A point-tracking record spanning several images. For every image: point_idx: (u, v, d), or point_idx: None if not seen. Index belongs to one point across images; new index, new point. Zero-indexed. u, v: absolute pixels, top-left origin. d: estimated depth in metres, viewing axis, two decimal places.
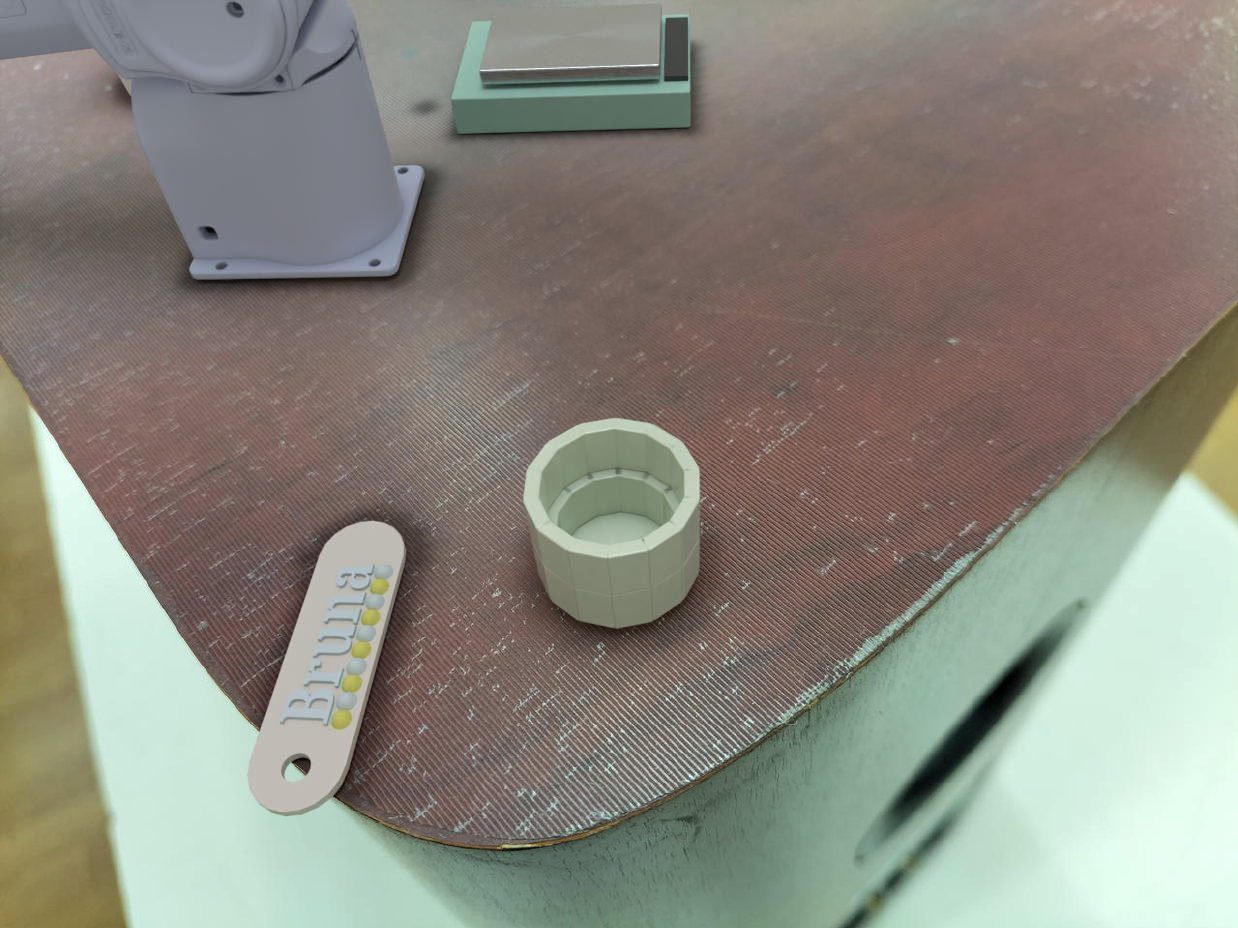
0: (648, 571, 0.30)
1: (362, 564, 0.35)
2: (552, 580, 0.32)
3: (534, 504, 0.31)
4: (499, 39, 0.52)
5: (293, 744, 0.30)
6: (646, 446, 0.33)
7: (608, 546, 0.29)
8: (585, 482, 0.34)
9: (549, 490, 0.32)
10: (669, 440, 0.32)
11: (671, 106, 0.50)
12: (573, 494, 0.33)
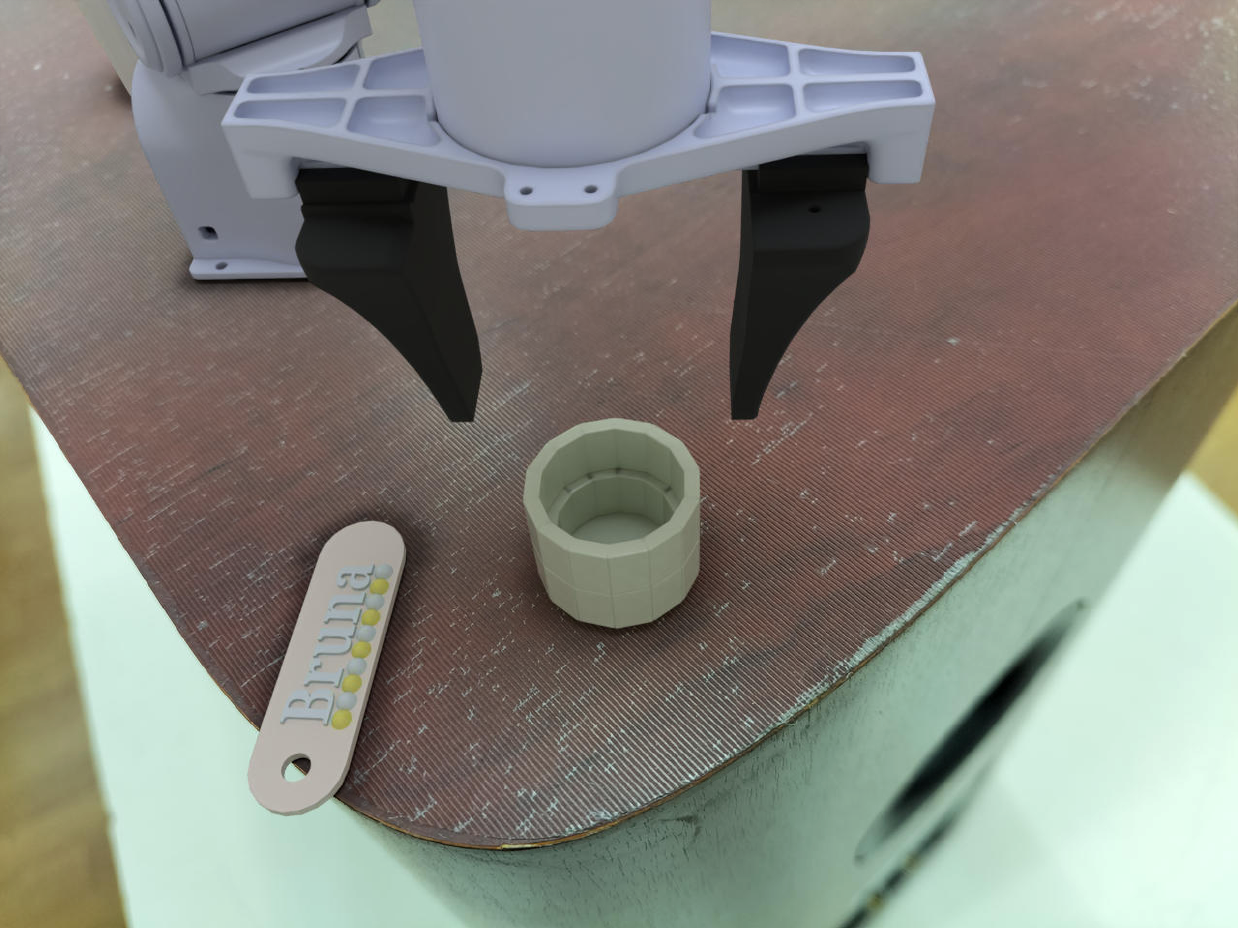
0: (648, 571, 0.30)
1: (362, 564, 0.35)
2: (552, 580, 0.32)
3: (534, 504, 0.31)
4: None
5: (293, 744, 0.30)
6: (646, 446, 0.33)
7: (608, 546, 0.29)
8: (585, 482, 0.34)
9: (549, 490, 0.32)
10: (669, 440, 0.32)
11: None
12: (573, 494, 0.33)
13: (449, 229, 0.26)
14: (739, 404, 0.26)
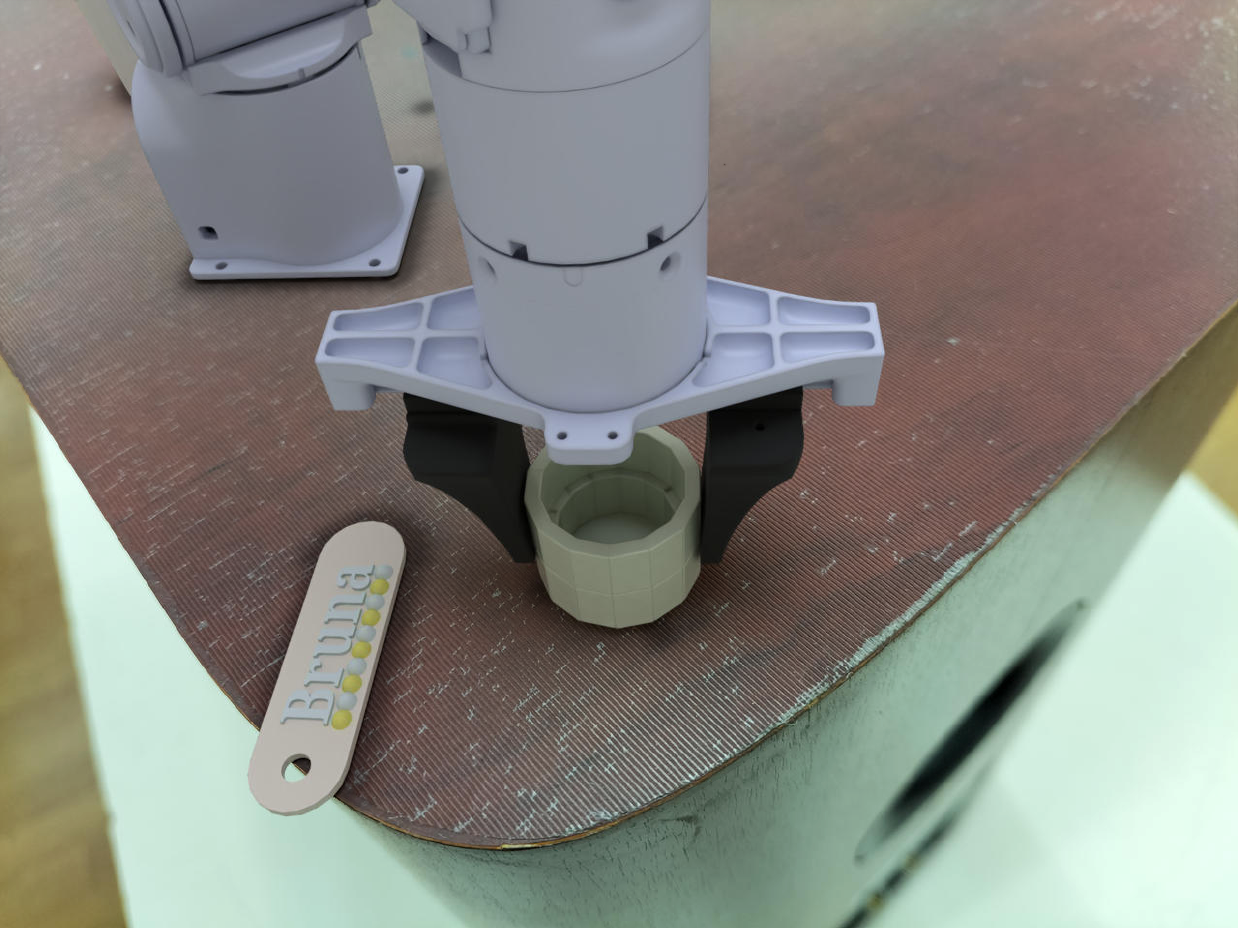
0: (649, 571, 0.30)
1: (362, 564, 0.35)
2: (553, 580, 0.32)
3: (535, 504, 0.31)
4: None
5: (293, 744, 0.30)
6: (647, 446, 0.33)
7: (609, 546, 0.29)
8: (586, 482, 0.34)
9: (550, 490, 0.32)
10: (670, 440, 0.32)
11: None
12: (574, 494, 0.33)
13: None
14: (706, 554, 0.32)
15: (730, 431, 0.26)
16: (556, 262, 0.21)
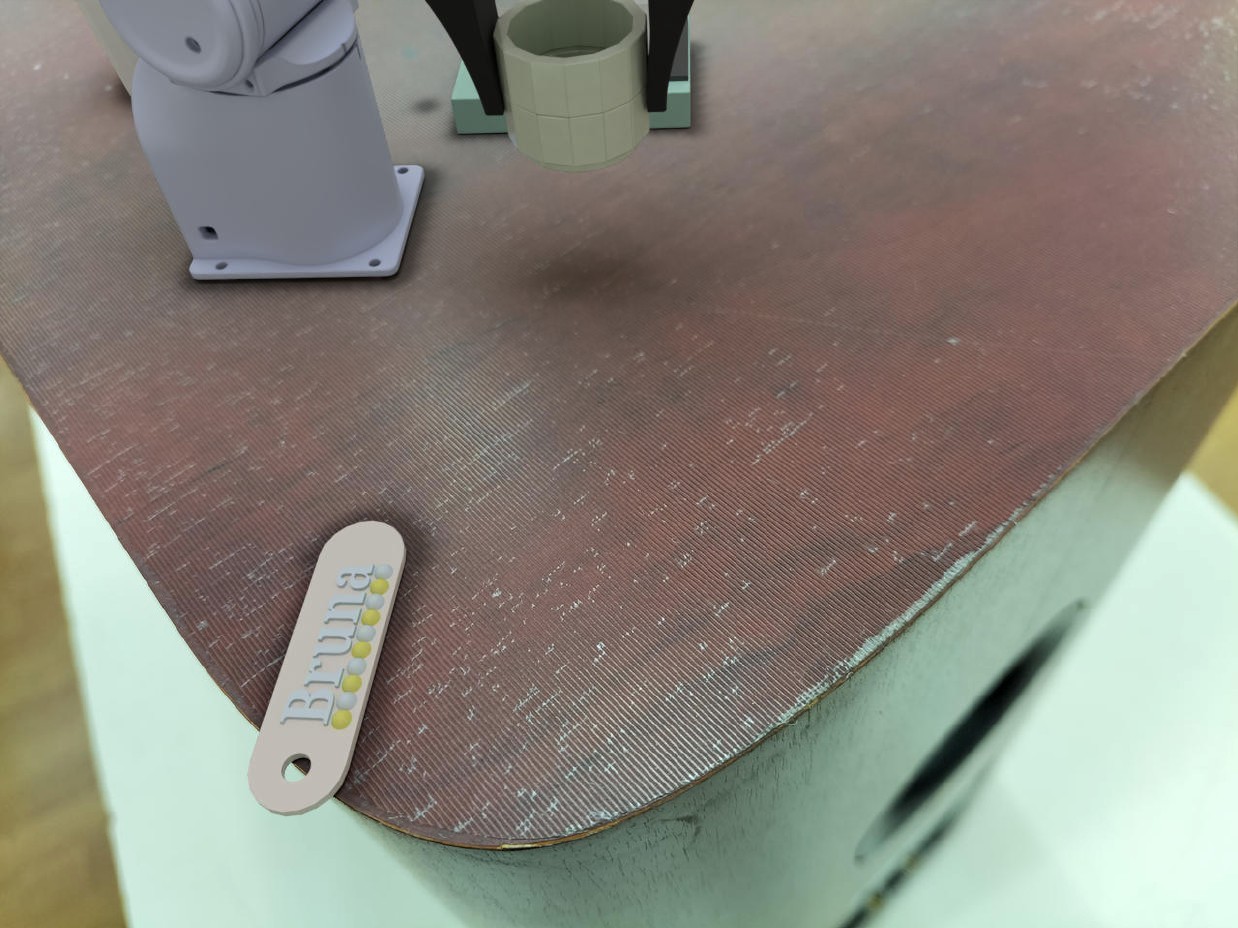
0: (600, 91, 0.35)
1: (362, 564, 0.35)
2: (518, 118, 0.37)
3: (502, 37, 0.35)
4: None
5: (293, 744, 0.30)
6: (602, 12, 0.37)
7: (564, 58, 0.34)
8: (550, 55, 0.38)
9: (517, 48, 0.37)
10: None
11: (671, 106, 0.50)
12: None
13: None
14: (651, 94, 0.36)
15: None
16: None
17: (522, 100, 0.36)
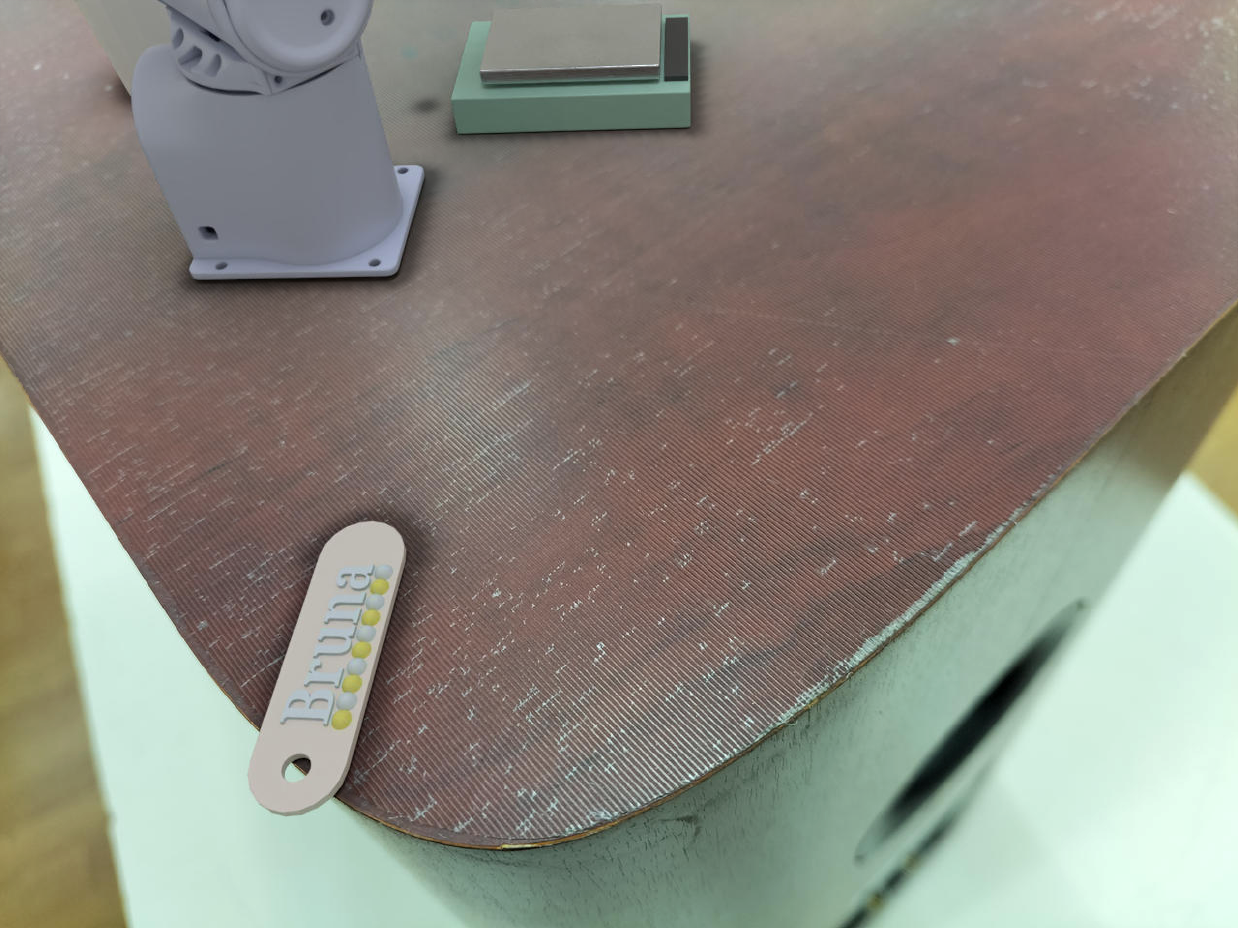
0: None
1: (362, 564, 0.35)
2: None
3: None
4: (499, 39, 0.52)
5: (293, 744, 0.30)
6: None
7: None
8: None
9: None
10: None
11: (671, 106, 0.50)
12: None
13: None
14: None
15: None
16: None
17: None
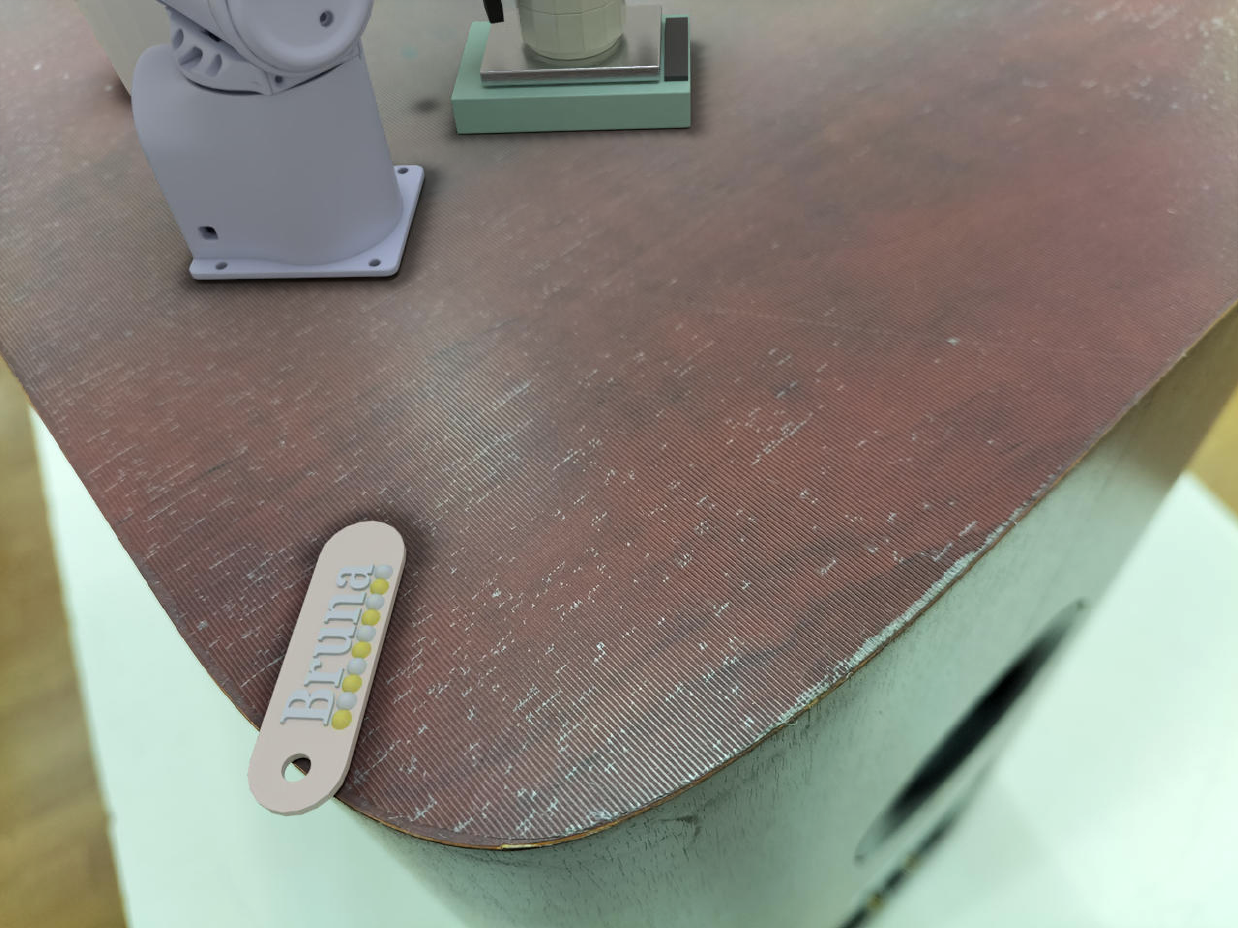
0: None
1: (362, 564, 0.35)
2: (539, 22, 0.49)
3: None
4: (499, 40, 0.52)
5: (293, 744, 0.30)
6: None
7: None
8: None
9: None
10: None
11: (671, 106, 0.50)
12: None
13: None
14: None
15: None
16: None
17: (543, 6, 0.48)
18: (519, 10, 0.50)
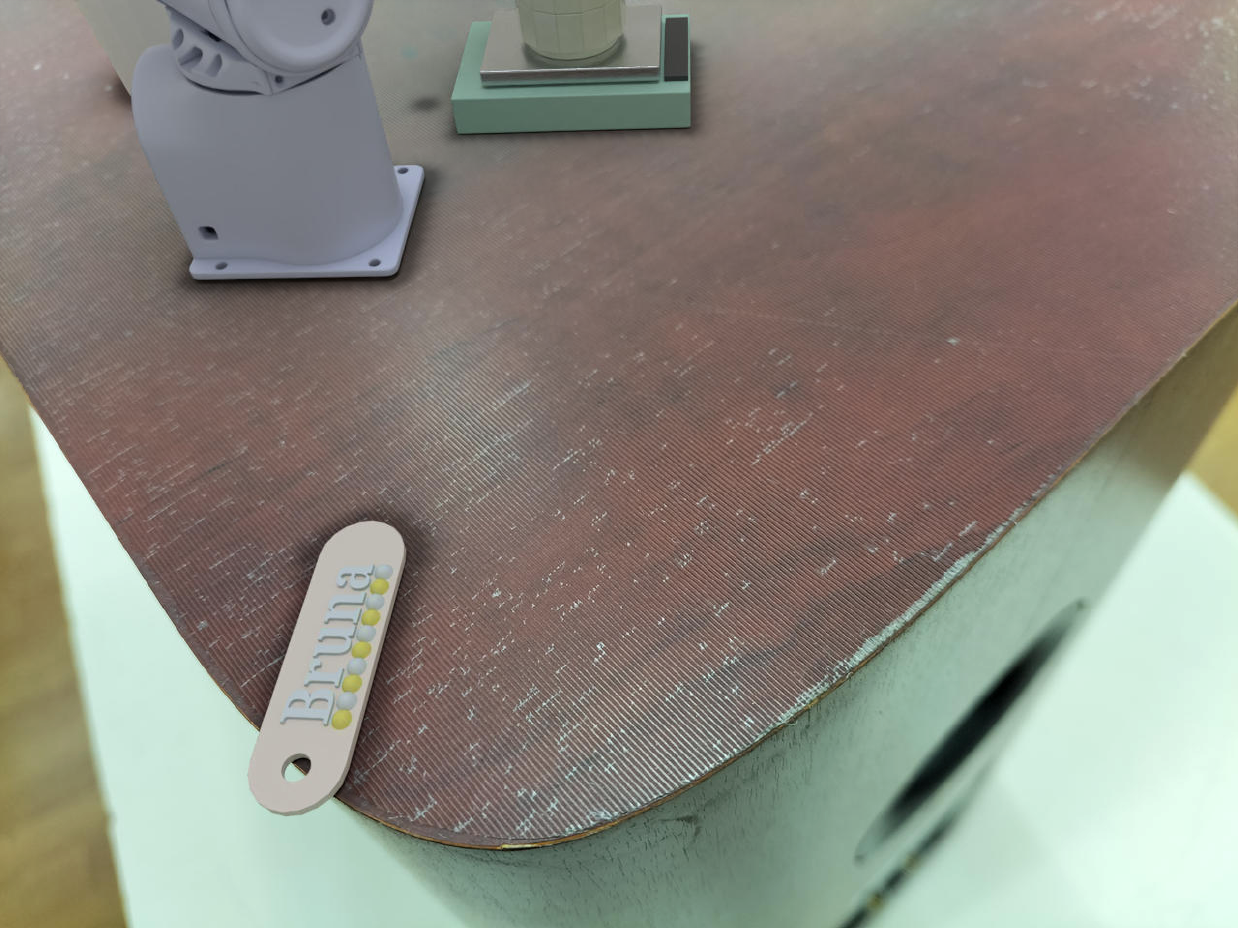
0: None
1: (362, 564, 0.35)
2: (539, 22, 0.49)
3: None
4: (499, 40, 0.52)
5: (293, 744, 0.30)
6: None
7: None
8: None
9: None
10: None
11: (671, 106, 0.50)
12: None
13: None
14: None
15: None
16: None
17: (543, 6, 0.48)
18: (519, 10, 0.50)
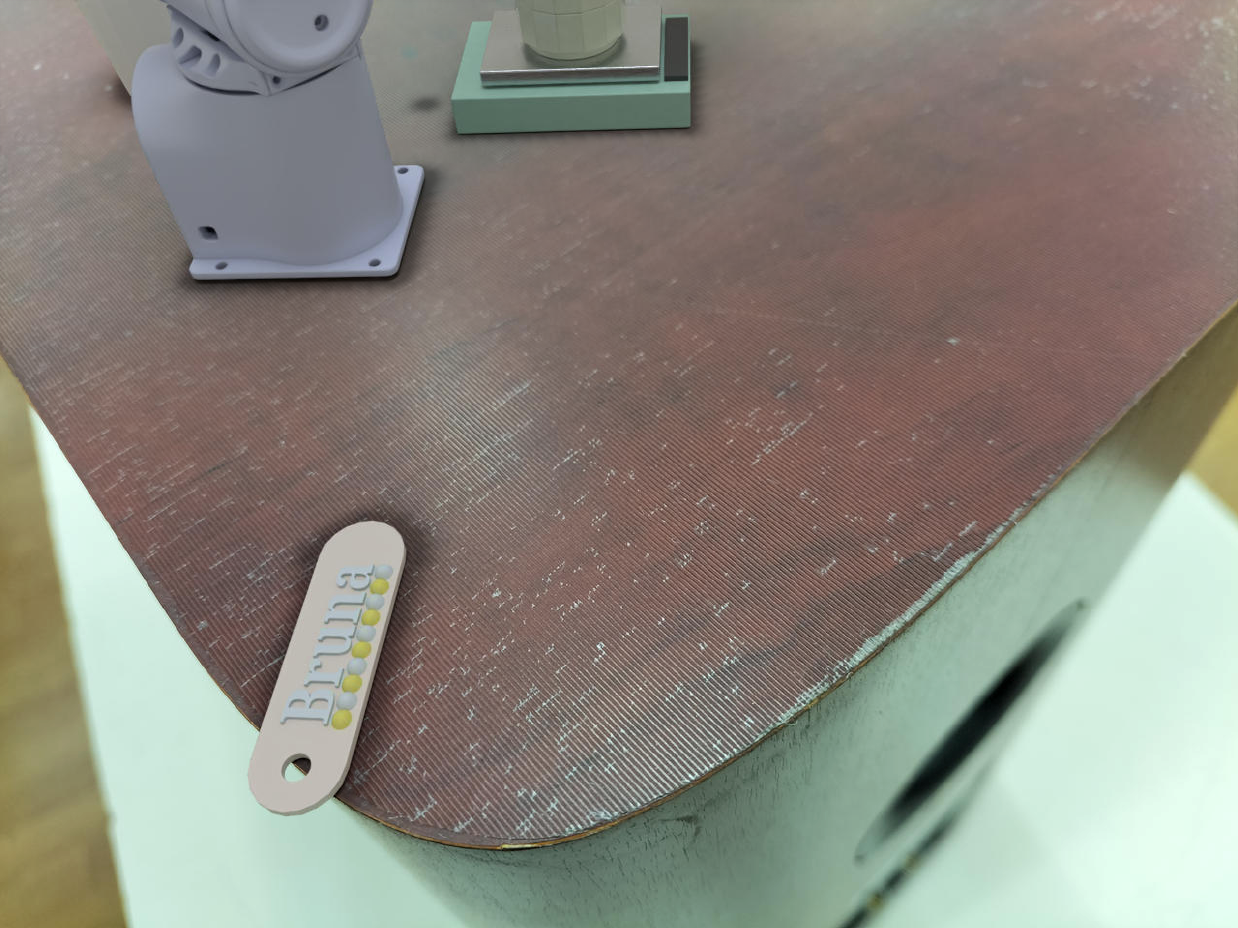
0: None
1: (362, 564, 0.35)
2: (539, 22, 0.49)
3: None
4: (499, 40, 0.52)
5: (293, 744, 0.30)
6: None
7: None
8: None
9: None
10: None
11: (671, 106, 0.50)
12: None
13: None
14: None
15: None
16: None
17: (543, 6, 0.48)
18: (519, 10, 0.50)
